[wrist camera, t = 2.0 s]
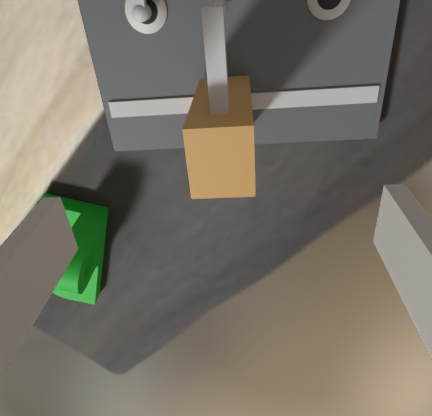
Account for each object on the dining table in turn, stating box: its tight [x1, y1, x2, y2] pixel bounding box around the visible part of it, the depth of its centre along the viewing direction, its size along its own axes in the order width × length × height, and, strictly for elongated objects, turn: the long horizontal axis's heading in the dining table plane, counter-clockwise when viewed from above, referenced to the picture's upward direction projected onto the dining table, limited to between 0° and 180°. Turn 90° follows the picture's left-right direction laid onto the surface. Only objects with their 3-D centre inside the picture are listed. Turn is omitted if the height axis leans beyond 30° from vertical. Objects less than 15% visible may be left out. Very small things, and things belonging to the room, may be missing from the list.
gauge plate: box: [78, 0, 400, 151], centre depth 26 cm, size 13×21×4 cm, turn 94°
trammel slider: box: [182, 0, 255, 199], centre depth 22 cm, size 9×4×10 cm, turn 4°
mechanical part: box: [37, 193, 108, 304], centre depth 35 cm, size 12×6×8 cm, turn 166°
